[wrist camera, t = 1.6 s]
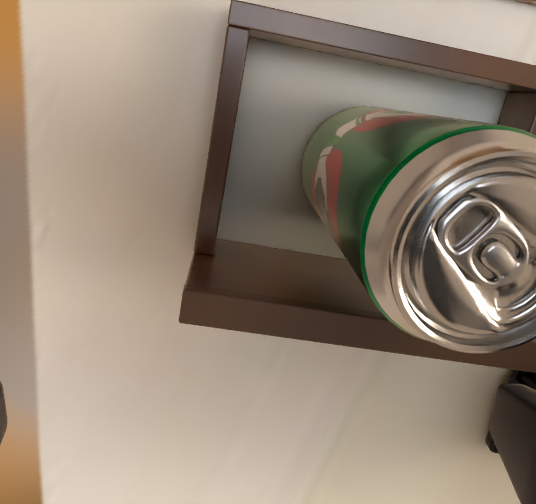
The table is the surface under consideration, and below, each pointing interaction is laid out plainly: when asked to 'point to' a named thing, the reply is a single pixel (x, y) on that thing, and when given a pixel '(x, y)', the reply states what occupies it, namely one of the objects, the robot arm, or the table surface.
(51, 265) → the table surface
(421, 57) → the spice rack
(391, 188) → the soda can
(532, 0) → the cork trivet
